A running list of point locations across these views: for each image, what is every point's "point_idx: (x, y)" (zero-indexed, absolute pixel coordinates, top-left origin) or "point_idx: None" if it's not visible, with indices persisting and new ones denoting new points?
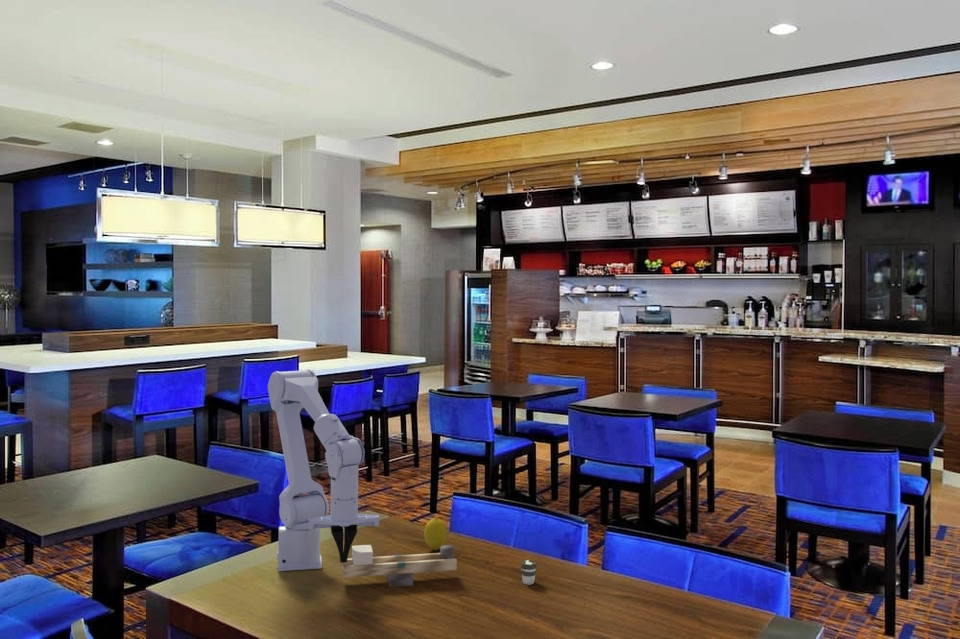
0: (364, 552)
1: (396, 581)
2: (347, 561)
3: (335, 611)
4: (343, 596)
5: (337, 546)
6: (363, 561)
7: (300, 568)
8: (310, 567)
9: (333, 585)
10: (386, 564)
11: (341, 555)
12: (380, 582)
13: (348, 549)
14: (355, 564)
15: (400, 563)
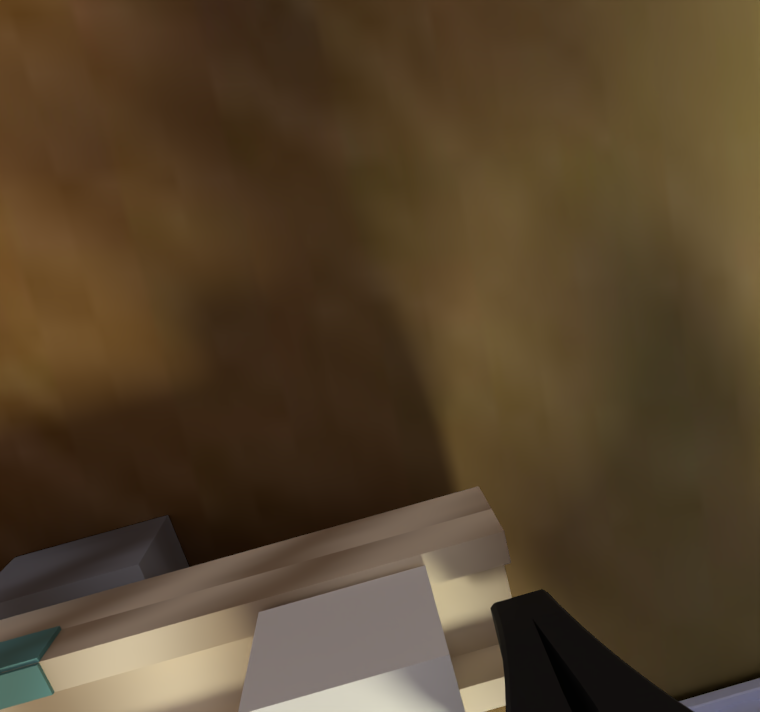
0: (329, 686)
1: (108, 548)
2: (492, 669)
3: (446, 85)
4: (437, 344)
5: (670, 696)
6: (338, 609)
7: (751, 688)
8: (699, 705)
9: (528, 504)
10: (137, 633)
11: (566, 628)
12: None
13: (519, 697)
14: (407, 575)
15: (11, 667)
